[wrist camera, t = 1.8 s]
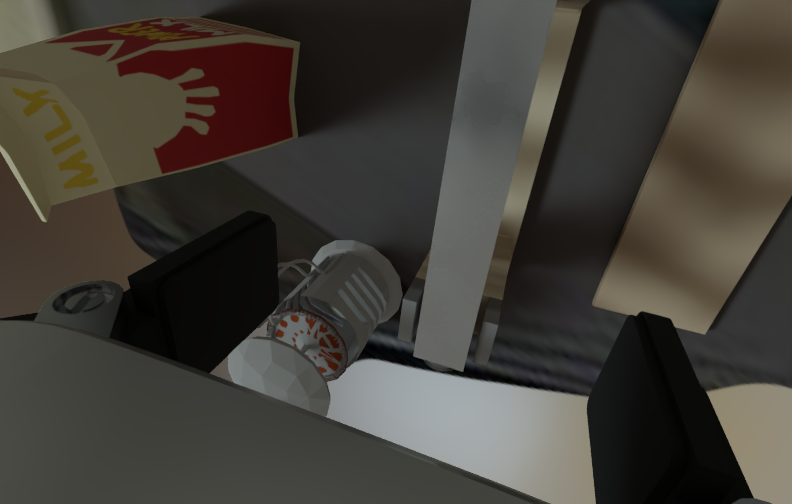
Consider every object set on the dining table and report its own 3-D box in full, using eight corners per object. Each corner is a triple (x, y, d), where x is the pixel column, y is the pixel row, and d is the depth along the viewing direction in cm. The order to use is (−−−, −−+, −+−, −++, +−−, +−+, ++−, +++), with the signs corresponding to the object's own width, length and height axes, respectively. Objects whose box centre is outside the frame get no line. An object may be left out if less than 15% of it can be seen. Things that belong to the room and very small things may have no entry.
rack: (497, -84, 24) (458, -179, 13) (605, -79, 23) (655, -179, 12) (436, 262, 36) (390, 355, 25) (505, 279, 34) (486, 385, 24)
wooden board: (749, -71, 21) (754, -74, 20) (943, -62, 19) (954, -64, 19) (591, 301, 33) (592, 305, 32) (702, 329, 31) (704, 334, 30)
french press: (333, 329, 44) (134, 599, 23) (287, 233, 40) (-4, 451, 19) (416, 320, 39) (266, 641, 18) (374, 211, 36) (123, 462, 15)
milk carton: (199, 16, 33) (-170, -5, 16) (301, 35, 31) (4, 33, 14) (209, 130, 37) (-68, 206, 20) (299, 153, 35) (73, 257, 19)
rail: (508, -142, 15) (500, -178, 13) (592, -140, 15) (601, -178, 12) (424, 335, 27) (411, 366, 24) (468, 348, 26) (460, 381, 24)
